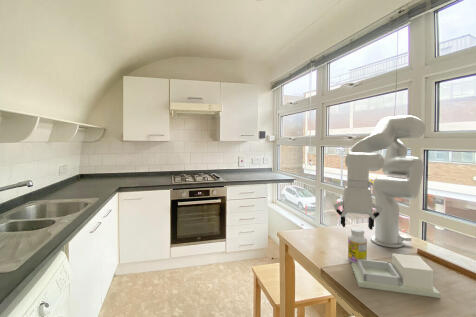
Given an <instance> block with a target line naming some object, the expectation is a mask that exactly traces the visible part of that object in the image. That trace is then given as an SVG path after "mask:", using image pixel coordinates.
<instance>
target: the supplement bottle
mask: <svg viewBox="0 0 476 317" xmlns="http://www.w3.org/2000/svg"><path fill="white" fill-rule="evenodd" d="M350 232H351V234H349V235H348V239H347V240H348V242H347V243H348V244H347V247H348V248H347V259H348V260H349V262H351V264H352V263H356V264H357V259H365V260H368V258H367V257H368V256H367V254H368V252H367V251H368V238H367V237H366V235H365V230H364V229H363V228H360V227H352V228H350Z"/></svg>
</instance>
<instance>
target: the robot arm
mask: <svg viewBox="0 0 476 317" xmlns="http://www.w3.org/2000/svg"><path fill="white" fill-rule="evenodd" d="M425 132H426V124H425V122H424V121H423V119H420V118H419V117H417V116H413V115H405V114H404V115H397V116H396V115H394V116H393V115H392V116H387V117H384V118H382V119H380V121H378V123H377V125H376V126H375V129H374V130H373V131H372V133H371V134H370V135H369V136H366V137H365V138H363V139H361V140H359V141H357V142H356V143H355V144H352V146H351V147H350V149H349V151H348V152H347V154H346V156H345V161H344V162H345V166H346V167H347V173H346V174H347V176H346V178H347V179H346V181H347V182H346V183H347V184H346V186H344V191H343V195H342V201H339V202H335V204H333V207H334V209H335V211H336V213H337V214H338V215H339V216H340V225H342V227H343V228H346V217H345V216H346V215H347V214H359V215H361V214H362V215H368V216H369V217H368V220H367V221H368V224H367V225H368V229H369V230H370V231H373V228H374V234H373V235H372V236H371V242H373V243H374V244H376V245H379V246H382V247H386V248H394V249H395V248H397V249H398V248H401V247H403V244H404V242H412V238H411V237H410V236H406V235H404V234H402V235H401V234H400V205H399V203H398V201H397V200H396V199H403V200H410V201H411V200H415V199H416V198H417V197H418V196H419V193H420V189H421V184H422V180H423V176H424V175H423V174H424V170H425V166H424V161H423V160H422V159H421V158H419V157H417V156H407V155H408V151H409V150H408V147H407V146H406V145H405V144H404V142H402V141H401V140H400V139H417V138H422V137H423V136H424V134H425ZM384 149H386V150H385V155H382V154H380V153H378V152H379V151H382V150H384ZM380 170H382V173H383V174H384V175H379V176H377V177H375V178H374V179H373V181H370V172H378V171H380ZM370 186H372V187H373V191H374V193H373V194H374V199H375V202H374V203H373V197H372V196H373V195H372V190H371V188H370ZM395 198H396V199H395ZM341 206H342V210H340V209H339V207H341ZM373 208H374V210H375V211H374V212H373Z"/></svg>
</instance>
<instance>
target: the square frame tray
mask: <svg viewBox="0 0 476 317" xmlns="http://www.w3.org/2000/svg"><path fill="white" fill-rule="evenodd" d="M391 255H392V256H391V260H392V261H391V262H390V261H382V260H380V261H379V260H374V259H373V260H372V259H367V260H365V259H357V264H356V263H352V262H351V269H352V268H353V269H352V272H353V271H354V272H353V274H355V275H354V278H355V280H356V282H357V285H358V287H359V288H366V289H373V290H379V291H387V292H395V293H401V294H402V293H403V294H408V295H414V296H417V295H418V296H422V297H431V298H437V299H440V296H441V294H440V291H439V290H438V289H437V288H436V287H435V286H434V271H435V270H434V269H433V268H431V266H429V265H428V264H427V262H425V261H424V259H422V258H421V256H419V255H414V254H405V253H392V254H391Z"/></svg>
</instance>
